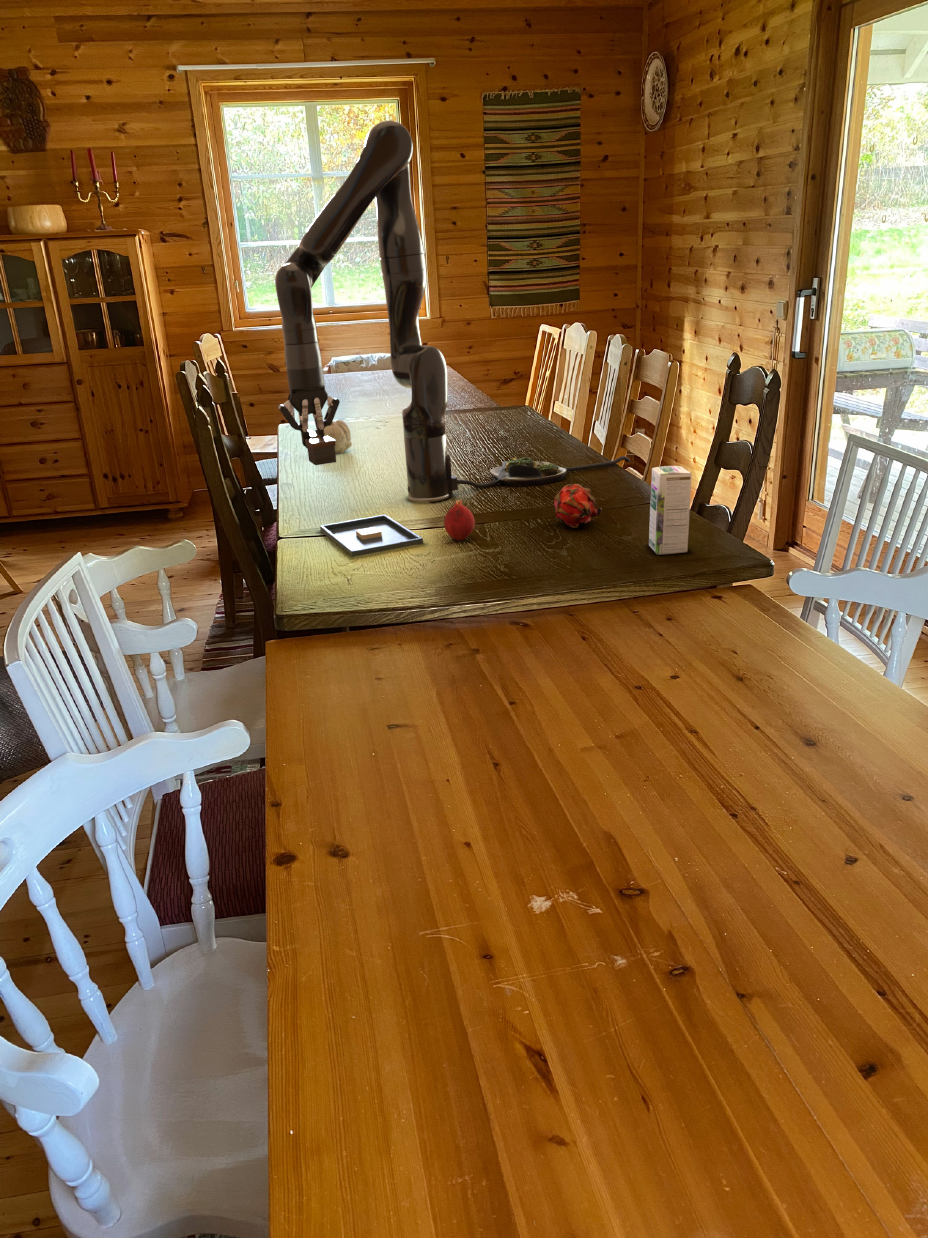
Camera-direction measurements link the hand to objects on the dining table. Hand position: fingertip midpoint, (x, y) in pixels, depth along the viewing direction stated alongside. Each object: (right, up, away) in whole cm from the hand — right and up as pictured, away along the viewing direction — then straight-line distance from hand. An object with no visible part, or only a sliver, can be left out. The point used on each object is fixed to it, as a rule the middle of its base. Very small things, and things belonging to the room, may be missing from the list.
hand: (314, 447), depth 198 cm
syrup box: (+69, -25, -34) cm, 81 cm away
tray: (+14, -21, -18) cm, 31 cm away
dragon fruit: (+55, -19, -16) cm, 60 cm away
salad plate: (+48, -3, +22) cm, 52 cm away
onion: (+32, -22, -23) cm, 45 cm away
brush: (+1, -2, 0) cm, 2 cm away
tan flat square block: (+14, -21, -18) cm, 30 cm away
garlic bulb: (-4, +10, +61) cm, 62 cm away
